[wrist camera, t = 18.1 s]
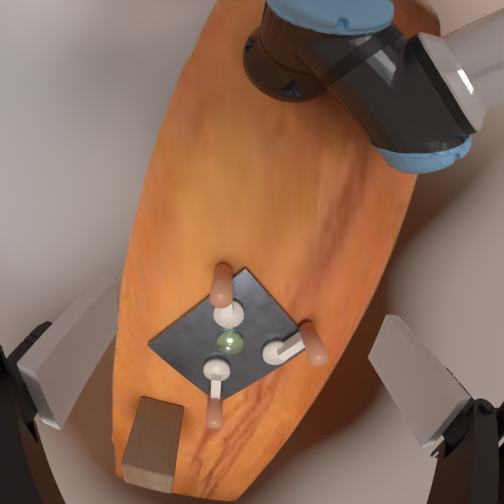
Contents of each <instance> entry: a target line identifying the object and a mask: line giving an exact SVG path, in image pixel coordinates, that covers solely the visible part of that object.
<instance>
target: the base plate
mask: <svg viewBox="0 0 504 504" xmlns="http://www.w3.org/2000/svg"><path fill="white" fill-rule="evenodd" d="M209 297H210V295H208V296H207V297H206V298H204V299H203V300H202V301H201V302H199V303H198V304H197V305H195V306H194V307H193V308H192V309H190V310H189V311H188V312H186V313H185V314H184V315H183V316H181V317H180V318H179V319H177V320H176V321H175V322H174V323H172V324H171V325H170V326H168V327H167V328H166V329H164V330H163V331H162V332H161V333H159V334H158V335H157V336H155V337H154V338H153V339H152V340H150V341H149V342H148V346H149V347H150V348H151V349H152V350H153V351H154V352H155V353H157V354H158V355H159V356H160V357H161V358H162V359H163V360H165V361H166V362H167V363H168V364H169V365H171V366H172V367H173V368H174V369H175V370H177V371H178V372H179V373H180V374H181V375H183V376H184V377H185V378H186V379H188V380H189V381H190V382H192V383H193V384H194V385H195V386H197V387H198V388H199V389H201V390H202V391H203V392H205V393H206V394H207V395H208V391H209V389H211V380H210V379H208V378H207V377H206V376H205V375H204V372H203V369H204V364H205V362H206V361H208V360H209V359H213V358H220V359H223V360H225V361H226V362H227V363H228V364H229V366H230V375H229V377H228V378H227V379H225V380H223V381H221V390H222V391H223V400H224V399H226V398H228V397H230V396H232V395H233V394H235V393H237V392H239V391H240V390H242V389H244V388H246V387H247V386H249V385H251V384H252V383H254V382H256V381H257V380H259V379H261V378H262V377H264V376H266V375H267V374H269V373H270V372H272V371H274V370H275V369H277V368H278V367H280V366H281V365H283V364H285V363H286V362H288V361H289V360H291V359H292V358H294V357H295V356H297V355H298V354H300V353H301V352H303V351H304V350H306V349H305V348H303V349H302V350H300V351H299V352H297V353H296V354H294V355H293V356H291V357H290V358H288V359H287V360H286V361H285V362H284V363H282V364H279V365H271V364H268V363H267V362H265V360H264V359H263V354H262V350H263V347H264V346H265V345H266V344H267V343H268V342H270V341H273V340H281V341H284V342H285V341H286V340H287V339H289V338H290V337H292V336H293V335H295V334H296V333H297V332H299V326H298V325H297V324H296V323H295V322H294V321H293V320H292V318H291V317H290V316H289V315H288V314H287V313H286V312H285V311H284V309H283V308H282V307H281V306H280V305H279V304H278V303H277V302H276V301H275V299H274V298H273V297H272V296H271V295H270V294H269V293H268V292H267V290H266V289H265V288H264V287H263V286H262V285H261V284H260V282H259V281H258V280H257V279H256V278H255V277H254V276H253V275H252V273H251V272H250V271H249V270H248V269H247V268H246V267H244V268H243V269H241V270H240V271H239V272H238V273H236V274H235V275H234V276H233V299H234V300H236V301H238V302H239V303H240V304H241V305H242V307H243V311H244V318H243V320H242V322H241V323H240V324H239V325H238V326H236V327H233V328H225V327H222V326H220V325H218V324H217V323H216V321H215V320H214V316H213V313H214V306H213V305H212V304H211V302H210V299H209Z"/></svg>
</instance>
